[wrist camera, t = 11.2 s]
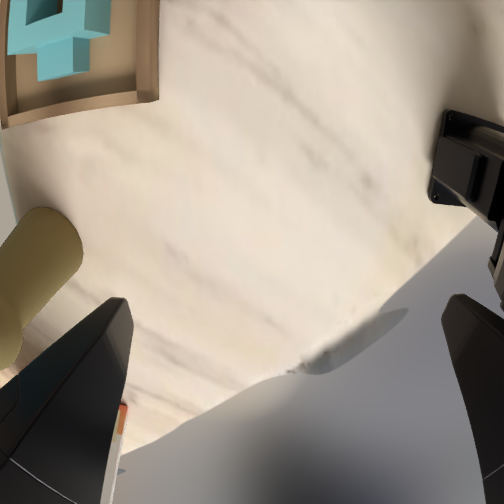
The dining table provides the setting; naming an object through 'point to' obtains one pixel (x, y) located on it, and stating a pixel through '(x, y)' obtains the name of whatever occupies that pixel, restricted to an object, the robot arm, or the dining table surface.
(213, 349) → the dining table surface
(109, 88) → the tray
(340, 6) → the dining table surface
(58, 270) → the cork
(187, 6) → the dining table surface
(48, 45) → the teal hollow block
